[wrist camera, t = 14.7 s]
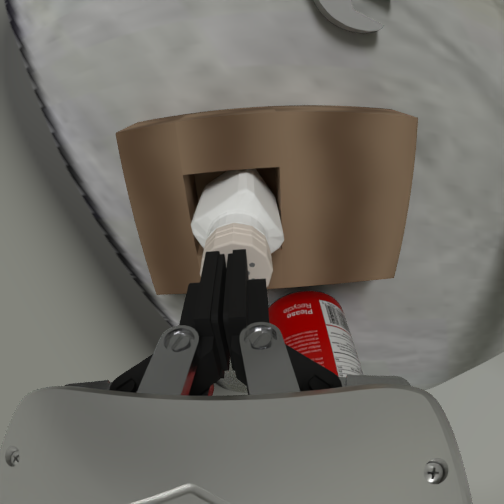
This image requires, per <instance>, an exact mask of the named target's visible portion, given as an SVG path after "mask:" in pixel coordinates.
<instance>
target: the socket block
mask: <svg viewBox="0 0 504 504" xmlns="http://www.w3.org/2000/svg"><path fill="white" fill-rule="evenodd" d="M417 125H418V118H416V117H413V116H410V115H407V114H404V113H401V112H398V111H395V110H391V109H381V108H369V107H352V106H316V105H304V106H268V107H250V108H237V109H226V110H216V111H207V112H199V113H191V114H184V115H178V116H171V117H165V118H159V119H153V120H148V121H143V122H138V123H136V124H133V125H131V126H129V127H127V128H125V129H123V130H121V131H119V132H117V133H116V138H117V144H118V149H119V154H120V159H121V164H122V169H123V173H124V178H125V182H126V187H127V191H128V195H129V199H130V203H131V207H132V211H133V215H134V219H135V223H136V227H137V231H138V234H139V238H140V241H141V245H142V248H143V252H144V255H145V259H146V262H147V265H148V269H149V272H150V275H151V278H152V281H153V284H154V288H155V291H156V294H157V295H162V294H186V293H187V289H188V285H189V283H198V282H200V279H201V276H200V269H201V261H202V256H203V251H204V248H203V247H202V246H201V244H200V243H199V242H198V240H197V239H196V238H195V236H194V235H193V232H192V228H191V222H192V219H193V217H194V214H195V211H196V208H197V205H198V202H199V200H200V197H201V194H202V191H203V189H204V188H205V186H206V185H207V184H208V183H210V182H211V181H213V180H214V179H216V178H217V177H219V176H220V175H222V174H223V173H225V172H226V171H228V170H240V169H254V168H255V169H256V170H257V171H258V173H259V174H260V176H261V177H262V179H263V180H264V181H265V183H266V184H267V186H268V187H269V189H270V190H271V191H272V193H273V194H274V196H275V198H276V203H277V207H278V212H279V216H280V220H281V225H282V230H283V234H284V241H283V243H282V245H281V246H280V248H279V249H277V250H276V251H274V252H273V253H272V254H271V258H272V266H273V272H272V276H271V279H270V282H269V285H268V286H267V289H276V288H289V287H302V286H315V285H326V284H338V283H349V282H359V281H369V280H379V279H388V278H394V275H395V271H396V267H397V263H398V258H399V254H400V249H401V244H402V239H403V234H404V229H405V224H406V218H407V212H408V206H409V200H410V193H411V186H412V178H413V170H414V161H415V151H416V139H417Z"/></svg>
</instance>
